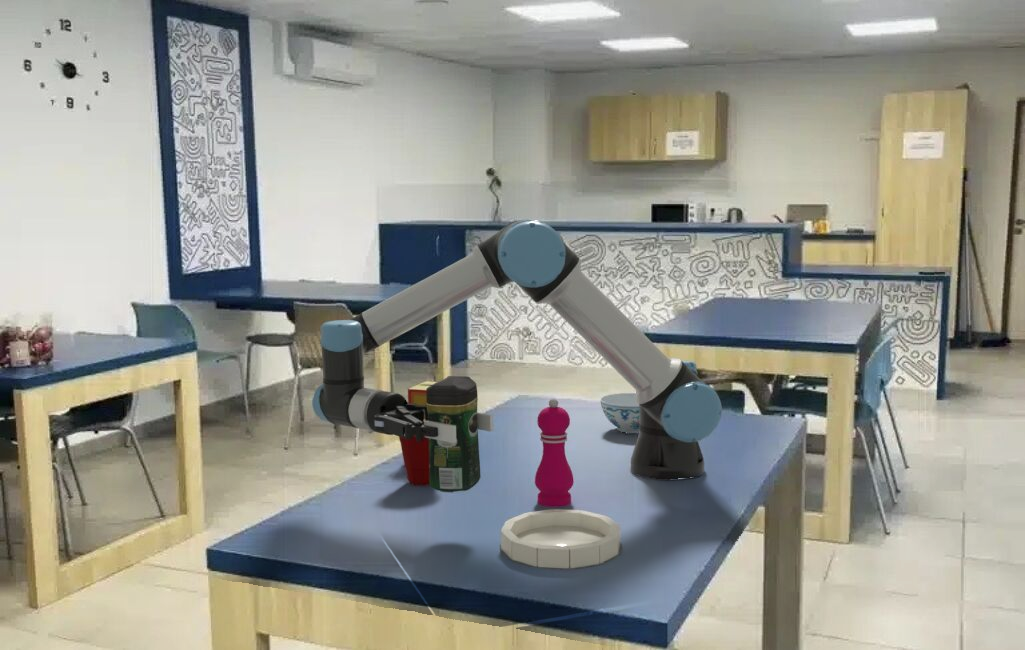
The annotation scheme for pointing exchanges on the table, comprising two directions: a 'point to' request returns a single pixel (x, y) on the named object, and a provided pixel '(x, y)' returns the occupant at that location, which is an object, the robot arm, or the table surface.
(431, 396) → the coffee jar
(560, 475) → the pepper mill
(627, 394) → the chinaware
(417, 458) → the plastic cup
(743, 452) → the table surface
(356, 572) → the table surface
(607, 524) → the bowl
